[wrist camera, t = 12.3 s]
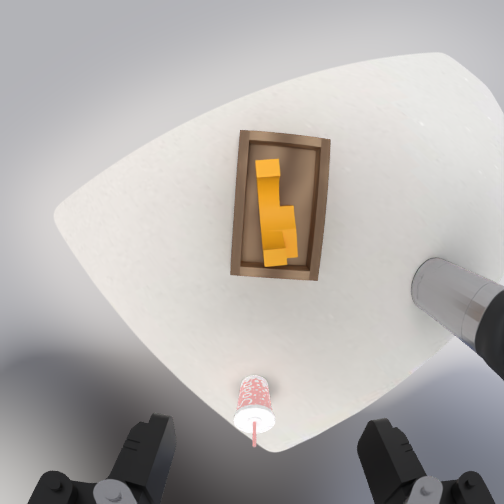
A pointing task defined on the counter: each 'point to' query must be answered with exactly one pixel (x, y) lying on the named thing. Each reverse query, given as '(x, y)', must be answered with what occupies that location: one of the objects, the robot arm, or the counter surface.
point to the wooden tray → (281, 202)
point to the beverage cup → (254, 407)
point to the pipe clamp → (274, 216)
